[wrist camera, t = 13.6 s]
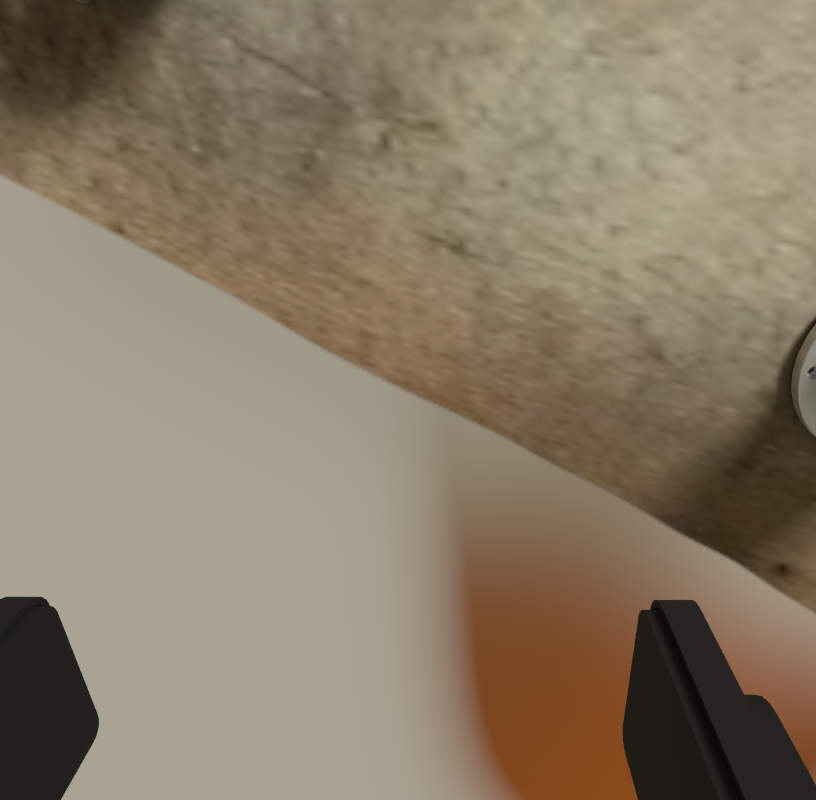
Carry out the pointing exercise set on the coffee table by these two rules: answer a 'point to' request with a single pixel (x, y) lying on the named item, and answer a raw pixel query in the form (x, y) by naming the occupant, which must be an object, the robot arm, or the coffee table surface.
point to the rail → (84, 1)
